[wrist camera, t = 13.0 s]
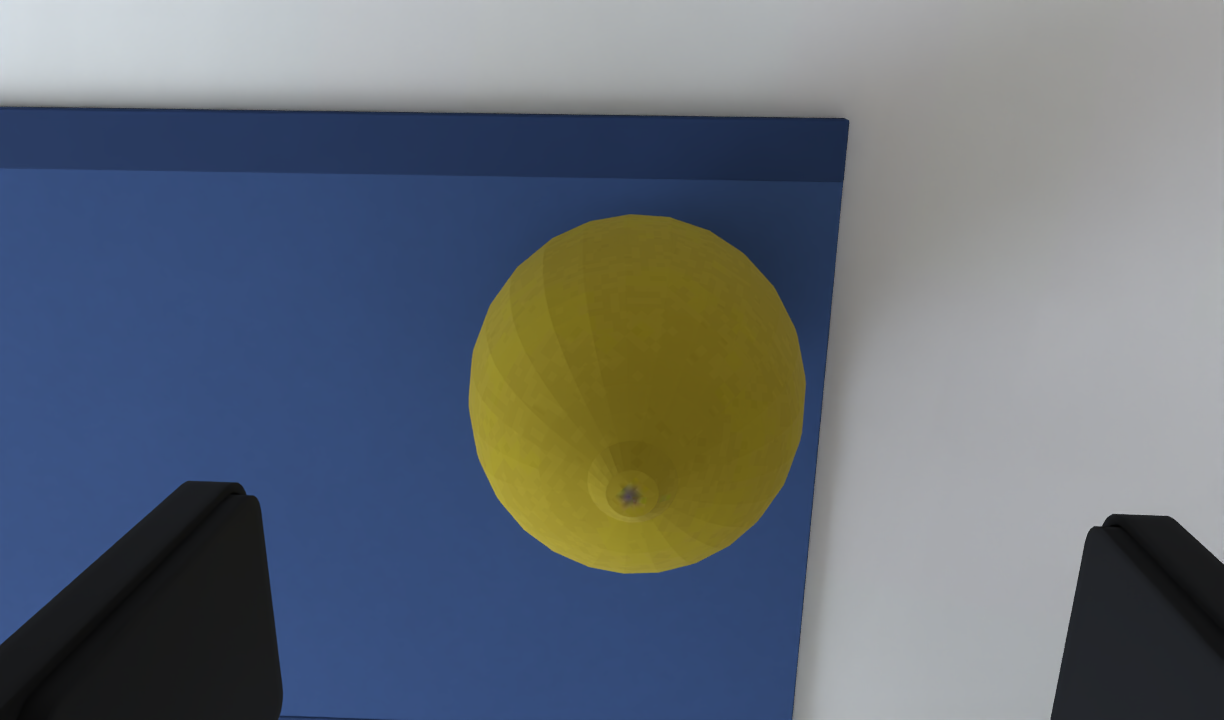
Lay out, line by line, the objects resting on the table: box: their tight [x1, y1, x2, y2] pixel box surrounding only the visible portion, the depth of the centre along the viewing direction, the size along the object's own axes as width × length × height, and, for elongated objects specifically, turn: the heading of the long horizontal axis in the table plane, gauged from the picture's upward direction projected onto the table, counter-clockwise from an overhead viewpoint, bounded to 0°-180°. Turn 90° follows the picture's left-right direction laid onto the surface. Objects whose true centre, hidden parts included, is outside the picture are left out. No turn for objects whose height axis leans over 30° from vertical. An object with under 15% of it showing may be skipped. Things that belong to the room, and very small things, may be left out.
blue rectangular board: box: [0, 107, 849, 720], centre depth 21 cm, size 20×16×1 cm
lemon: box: [469, 214, 806, 574], centre depth 16 cm, size 6×6×8 cm
